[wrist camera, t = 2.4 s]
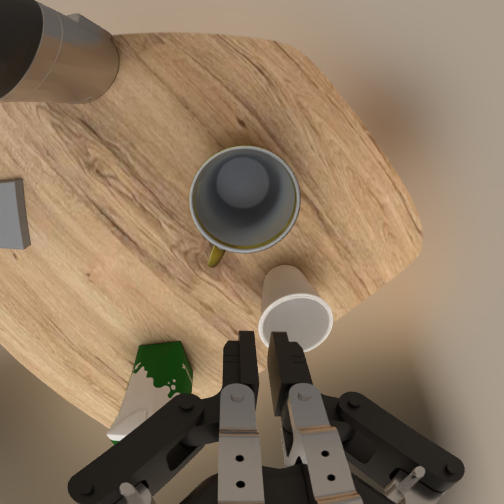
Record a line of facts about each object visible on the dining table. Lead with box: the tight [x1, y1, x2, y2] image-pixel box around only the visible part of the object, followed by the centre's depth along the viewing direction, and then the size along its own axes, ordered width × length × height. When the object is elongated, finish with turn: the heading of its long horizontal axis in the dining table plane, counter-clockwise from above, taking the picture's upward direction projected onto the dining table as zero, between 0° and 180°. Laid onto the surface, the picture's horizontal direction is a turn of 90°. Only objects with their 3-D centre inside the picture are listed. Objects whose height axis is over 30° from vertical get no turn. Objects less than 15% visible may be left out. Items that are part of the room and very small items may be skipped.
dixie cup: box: [258, 265, 333, 352], centre depth 38 cm, size 8×8×10 cm
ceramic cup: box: [189, 145, 301, 268], centre depth 32 cm, size 13×10×10 cm
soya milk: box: [107, 341, 193, 445], centre depth 37 cm, size 9×9×20 cm
